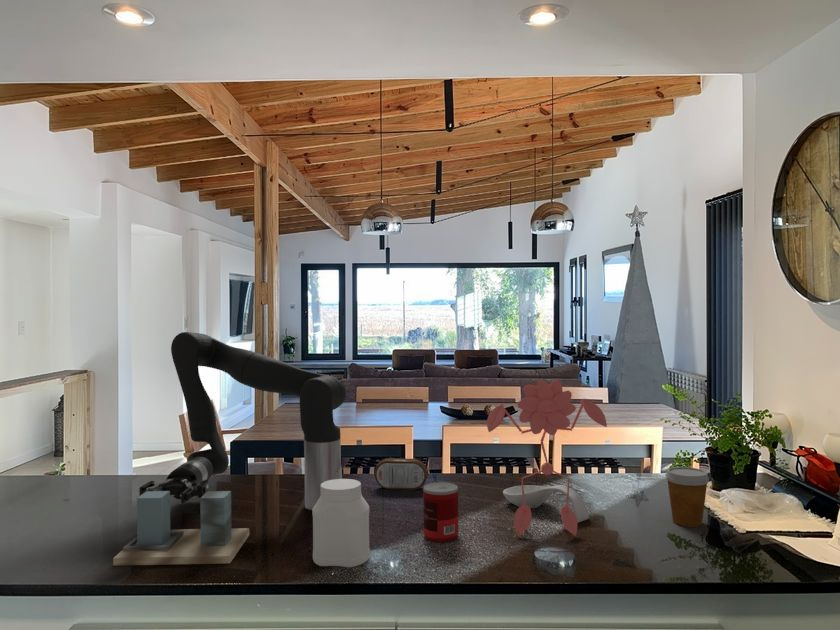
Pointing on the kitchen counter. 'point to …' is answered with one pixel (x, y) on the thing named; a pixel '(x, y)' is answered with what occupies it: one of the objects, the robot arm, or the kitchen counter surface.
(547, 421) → the figurine
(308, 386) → the robot arm
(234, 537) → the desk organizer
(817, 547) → the kitchen counter surface
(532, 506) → the spoon rest
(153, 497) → the pillar
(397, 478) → the tin
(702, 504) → the disposable coffee cup
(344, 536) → the jar
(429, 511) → the canned food
